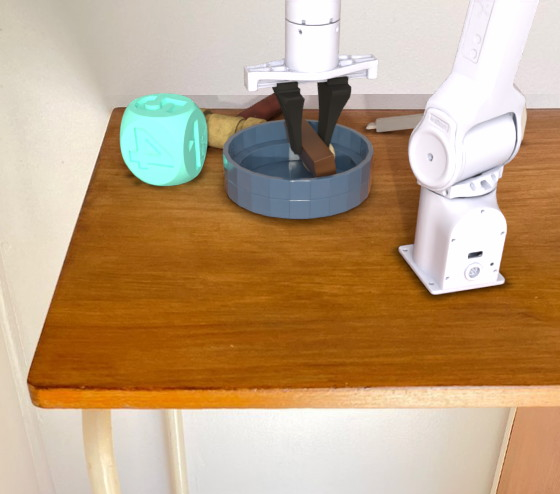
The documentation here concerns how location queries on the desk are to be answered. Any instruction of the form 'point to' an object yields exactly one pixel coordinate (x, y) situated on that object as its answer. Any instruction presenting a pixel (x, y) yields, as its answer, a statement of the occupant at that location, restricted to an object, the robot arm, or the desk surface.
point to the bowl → (295, 173)
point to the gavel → (238, 120)
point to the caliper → (415, 122)
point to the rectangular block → (315, 152)
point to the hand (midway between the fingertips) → (309, 149)
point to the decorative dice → (163, 139)
